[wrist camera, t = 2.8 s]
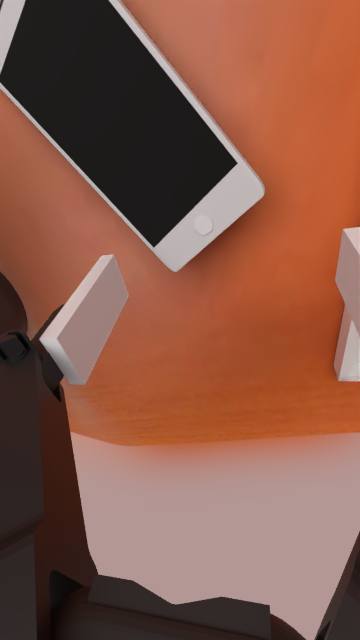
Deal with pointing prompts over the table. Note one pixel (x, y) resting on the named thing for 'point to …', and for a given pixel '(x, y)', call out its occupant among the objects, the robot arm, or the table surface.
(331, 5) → the table surface
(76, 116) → the smartphone
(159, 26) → the table surface
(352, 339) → the dock
